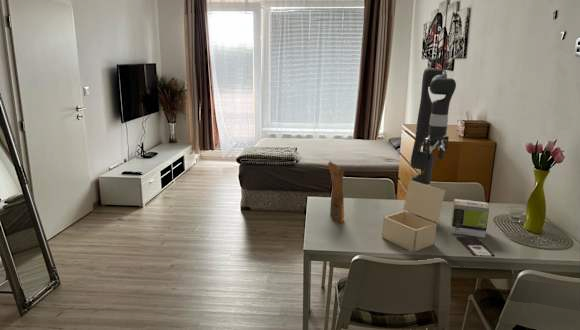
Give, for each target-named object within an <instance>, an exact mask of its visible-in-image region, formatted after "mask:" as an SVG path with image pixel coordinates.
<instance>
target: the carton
mask: <svg viewBox="0 0 580 330" xmlns="http://www.w3.org/2000/svg"><path fill="white" fill-rule="evenodd" d="M382 222H383V223H382V229H381V231H382V233H381V238H382V239H384V240H387V241H389V242H391V243H393V244H395V245H397V246H399V247H402V248H404V249H405V250H408V251H410V252H411V253H416V252H419V251H422V250H425V249H427V248H429V247H431V246H434V245H435V241H436V233H437V232H436V231H437V222H435V221H432V220H429V219H427V218H424V217H421V216H415V215H413V214H410V213H409V212H408V211H406V210H403V211H400V212H396V213H393V214H390V215H386V216H383V221H382Z"/></svg>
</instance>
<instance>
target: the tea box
mask: <svg viewBox="0 0 580 330" xmlns="http://www.w3.org/2000/svg"><path fill="white" fill-rule="evenodd" d="M489 213H490V207H489V204H488V201H487V202H486V201H479V200H477V201H475V200H469V199H459V198H454V199H453V206H452V214H451V222H450V225H451V226H450V227H451V228H450V229H451V234H454V235H455V234H456V235H461V236H462V235H463V236H467V237H476V238H483V239H485V238H486V234H487V227H488V223H489V222H488V220H489Z"/></svg>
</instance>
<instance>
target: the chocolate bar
mask: <svg viewBox="0 0 580 330" xmlns="http://www.w3.org/2000/svg"><path fill="white" fill-rule="evenodd" d="M456 239H457V240H458V241H459V242H460V243H461V244H462V245H463V246H464V248H465V249H466V250H467V251H468V250H469V251H470V252H469V251H468V252H469V253H470V254H471V255H472V256H474V255H475V256H476V257H481V256H480V255H482V257H495V253H494V252H492V251H491V250H490V249H489V248H488V247H487V246H486V244H484V243H483V242H482V241H481V240H479V239H478V237H476V236H456ZM477 255H478V256H477ZM475 256H474V257H475Z"/></svg>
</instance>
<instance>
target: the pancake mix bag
mask: <svg viewBox="0 0 580 330" xmlns="http://www.w3.org/2000/svg"><path fill="white" fill-rule="evenodd" d="M327 164H328V169H329V172H330V178H331V184H332V185H331V198H330V209H329V211H330V216H331V217H332V219H333V220H334V222H335V223H340V224H342V223H343V222H344V220H345V207H344V191H343V190H344V170H343V168H342V167H340V166H339V165H337V164H336V163H333V162H332V161H331V160H330V161H329V162H328V163H327Z"/></svg>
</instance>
